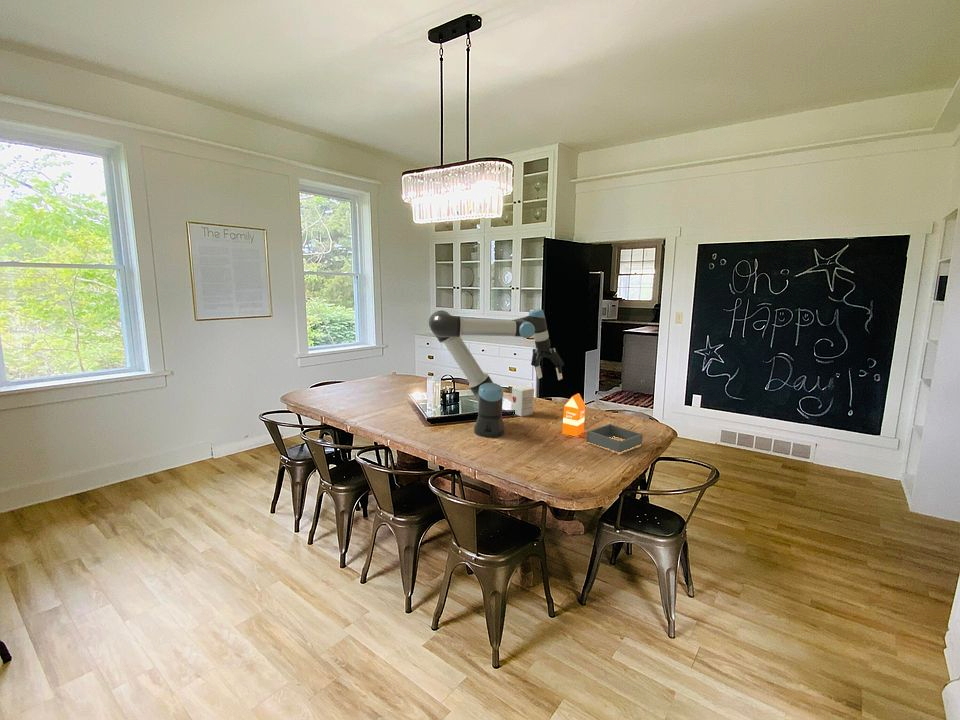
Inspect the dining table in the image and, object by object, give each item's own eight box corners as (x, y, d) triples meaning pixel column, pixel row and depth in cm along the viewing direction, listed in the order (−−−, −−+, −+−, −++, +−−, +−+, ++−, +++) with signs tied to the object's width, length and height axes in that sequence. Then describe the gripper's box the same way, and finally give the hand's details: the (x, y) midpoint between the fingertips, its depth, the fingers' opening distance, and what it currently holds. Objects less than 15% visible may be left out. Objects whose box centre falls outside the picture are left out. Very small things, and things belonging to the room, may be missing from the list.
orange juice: (583, 433, 226) (586, 394, 222) (576, 437, 218) (579, 397, 215) (568, 429, 230) (571, 391, 226) (561, 434, 223) (564, 395, 219)
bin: (619, 455, 199) (620, 442, 197) (586, 443, 212) (587, 430, 211) (641, 446, 210) (642, 434, 208) (609, 435, 223) (610, 424, 222)
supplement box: (510, 412, 255) (511, 386, 252) (522, 410, 260) (523, 384, 257) (521, 416, 248) (522, 390, 245) (533, 414, 253) (534, 388, 250)
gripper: (565, 336, 224) (573, 377, 229) (528, 337, 243) (536, 375, 247) (556, 341, 219) (564, 382, 224) (519, 342, 238) (527, 379, 243)
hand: (550, 378), depth 236 cm, fingers open, 13 cm apart
